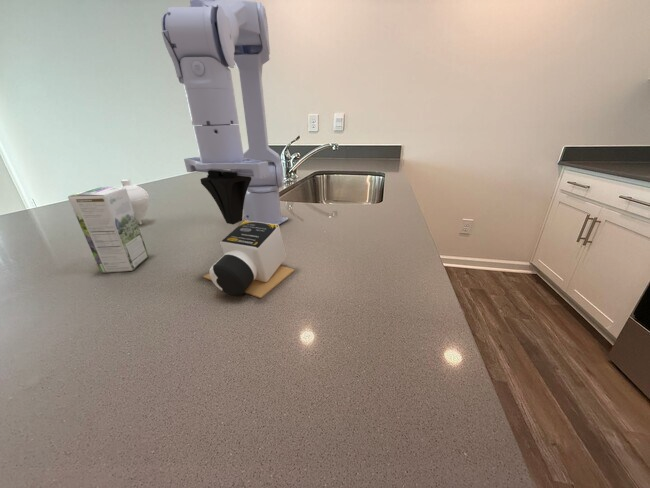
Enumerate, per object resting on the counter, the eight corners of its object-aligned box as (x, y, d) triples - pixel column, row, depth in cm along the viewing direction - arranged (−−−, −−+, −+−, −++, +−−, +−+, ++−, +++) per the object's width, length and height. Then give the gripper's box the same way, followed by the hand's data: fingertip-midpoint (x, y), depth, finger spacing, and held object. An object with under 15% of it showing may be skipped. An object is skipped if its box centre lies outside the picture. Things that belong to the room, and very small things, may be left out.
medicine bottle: (279, 223, 43) (236, 270, 34) (287, 256, 47) (250, 305, 39) (244, 219, 46) (195, 261, 37) (254, 251, 50) (213, 296, 41)
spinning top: (163, 219, 73) (150, 176, 68) (143, 230, 66) (127, 183, 61) (138, 219, 74) (123, 176, 68) (116, 229, 67) (97, 183, 62)
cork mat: (203, 277, 45) (203, 276, 45) (241, 255, 52) (241, 254, 52) (261, 298, 39) (260, 297, 39) (294, 270, 46) (294, 269, 46)
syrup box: (120, 258, 52) (90, 187, 46) (150, 256, 52) (125, 185, 46) (100, 273, 47) (64, 195, 41) (134, 271, 47) (103, 193, 41)
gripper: (154, 127, 34) (181, 223, 40) (233, 125, 28) (251, 239, 34) (199, 125, 40) (217, 210, 45) (274, 123, 33) (284, 222, 39)
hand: (234, 221), depth 40 cm, fingers closed
